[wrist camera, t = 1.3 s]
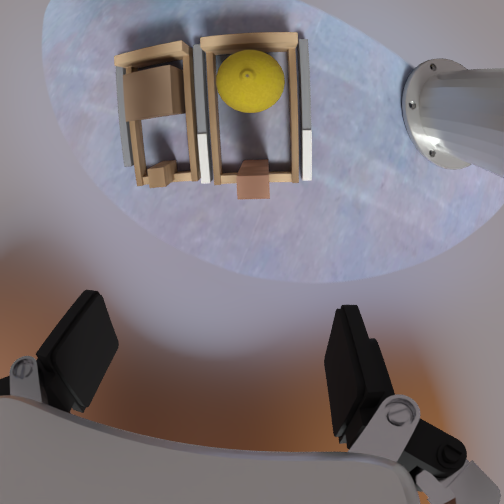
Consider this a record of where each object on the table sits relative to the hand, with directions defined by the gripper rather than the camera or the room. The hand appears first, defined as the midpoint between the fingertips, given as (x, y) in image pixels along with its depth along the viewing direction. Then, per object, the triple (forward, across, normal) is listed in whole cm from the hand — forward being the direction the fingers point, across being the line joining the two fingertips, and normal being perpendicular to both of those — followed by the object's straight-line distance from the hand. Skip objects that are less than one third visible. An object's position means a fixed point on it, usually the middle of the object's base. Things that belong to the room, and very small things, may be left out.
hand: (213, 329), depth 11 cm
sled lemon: (+20, 0, -8) cm, 22 cm away
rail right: (+20, +13, -8) cm, 25 cm away
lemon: (+21, 0, -10) cm, 23 cm away
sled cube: (+20, +8, -8) cm, 23 cm away
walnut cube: (+21, +9, -10) cm, 24 cm away
